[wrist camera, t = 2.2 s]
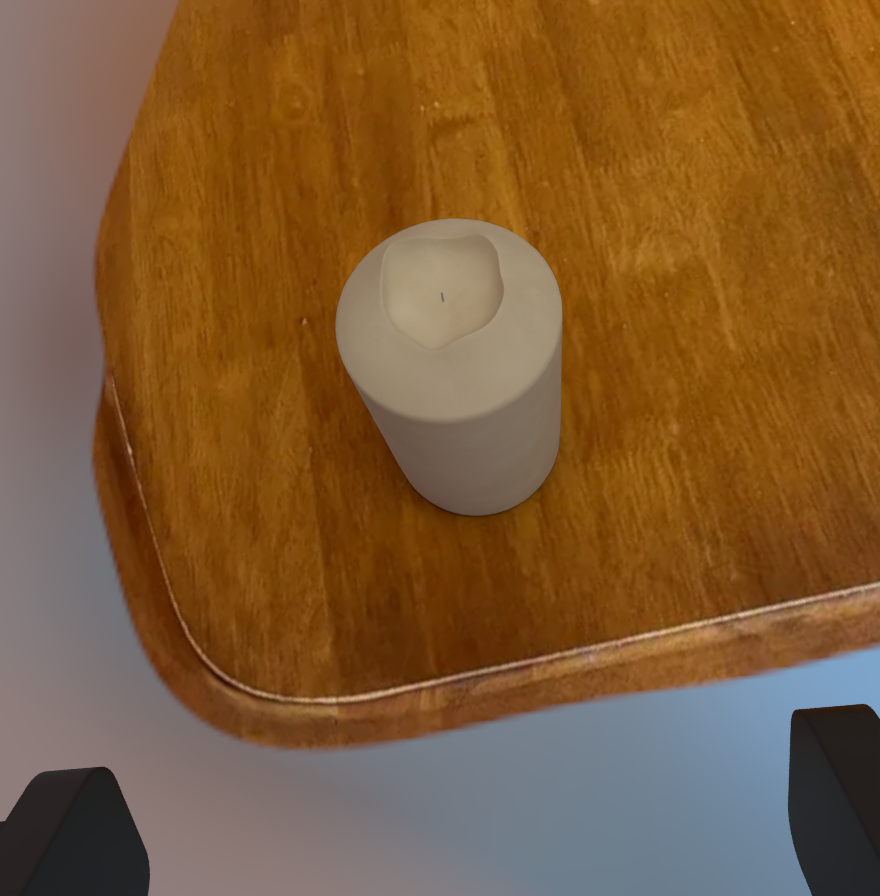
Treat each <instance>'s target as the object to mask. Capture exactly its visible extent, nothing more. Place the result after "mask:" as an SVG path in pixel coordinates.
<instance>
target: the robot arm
mask: <svg viewBox="0 0 880 896" xmlns="http://www.w3.org/2000/svg"><path fill="white" fill-rule="evenodd" d="M788 793H789V794H788V813H789V823H790V830H791V835H792V839H793V844H794V847H795V851H796V854H797V858H798V861H799V864H800V866H801V869H802V872H803V874H804V877H805V879H806V882H807V884H808V886H809V889H810V891H811V894H812V896H880V719H879V717H878V716H877V714H876V713H875V712H874V710H873V709H871V707H869V706H868V705H866V704H857V705H845V706H834V707H822V708H810V709H799V710H795V711H794V712H793V714H792V718H791V734H790V764H789V792H788ZM149 880H150V868H149V860H148V855H147V852H146V849H145V847H144V844H143V842H142V840H141V837H140V835H139V832H138V830H137V828H136V825H135V823H134V821H133V818H132V816H131V813H130V811H129V809H128V806H127V804H126V801H125V799H124V797H123V795H122V792H121V790H120V787H119V785H118V782H117V780H116V778H115V776H114V774H113V773H112V772H111V771H110V770H109V769H108V768H106V767H93V768H82V769H70V770H58V771H46V772H42V773H40V774H38V775H37V776H35V777H34V778H33V780H31V782H30V783H29V785H28V786H27V787H26V789H25V791H24V792H23V794H22V795H21V797H20V798H19V800H18V802H17V803H16V805H15V806H14V808H13V810H12V811H11V813H10V814H9V816H8V817H7V819H6V821H3V822H0V896H148V890H149Z"/></svg>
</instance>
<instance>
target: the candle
mask: <svg viewBox="0 0 880 896" xmlns="http://www.w3.org/2000/svg"><path fill="white" fill-rule="evenodd" d="M335 332H336V340H337V346H338V350H339V353H340V357H341V359H342V361H343V363H344V366H345V368H346V370H347V372H348V374H349V375H350V377H351V379H352V381H353V383H354V385H355V386H356V388H357V390H358V392H359V394H360V395H361V397H362V399H363V401H364V403H365V404H366V406H367V408H368V410H369V412H370V414H371V415H372V417H373V419H374V421H375V423H376V424H377V426H378V428H379V430H380V432H381V434H382V435H383V437H384V439H385V441H386V443H387V444H388V446H389V448H390V450H391V452H392V454H393V455H394V457H395V459H396V461H397V463H398V464H399V466H400V468H401V469H402V471H403V473H404V474H405V476H406V477H407V479H408V481H409V482H410V484H411V485H412V486H413V487H414V488H415V489H416V491H417V492H419V493H420V494H421V495H422V496H423V497H424V498H426V499H427V500H429V501H430V502H431V503H433V504H435V505H436V506H438V507H440V508H442V509H444V510H447V511H450V512H453V513H457V514H462V515H472V516H480V515H490V514H495V513H499V512H502V511H505V510H508V509H510V508H512V507H514V506H516V505H518V504H520V503H521V502H523V501H524V500H526V499H527V498H528V497H530V496H531V495H532V494H533V493H534V492H535V491H536V490H537V489H538V488H539V487H540V486H541V485H542V483H543V482H544V481H545V479H546V478H547V476H548V474H549V473H550V471H551V469H552V467H553V465H554V462H555V459H556V457H557V453H558V448H559V439H560V420H561V361H562V303H561V296H560V292H559V288H558V284H557V282H556V279H555V277H554V274H553V272H552V271H551V269H550V267H549V266H548V264H547V262H546V261H545V260H544V258H543V257H542V256H541V255H540V253H539V252H538V251H537V250H536V249H535V248H534V247H532V246H531V245H530V244H529V243H528V242H527V241H525V240H524V239H523V238H521V237H520V236H518V235H517V234H515V233H513V232H511V231H509V230H507V229H505V228H503V227H500V226H497V225H495V224H492V223H488V222H484V221H480V220H472V219H441V220H434V221H430V222H425V223H421V224H418V225H415V226H412V227H409V228H407V229H405V230H403V231H400V232H398V233H396V234H394V235H393V236H391V237H389V238H388V239H386V240H384V241H383V242H382V243H380V244H379V245H378V246H376V247H375V248H374V249H373V250H372V251H371V252H370V253H369V254H367V255H366V256H365V257H364V258H363V260H362V261H361V262H360V263H359V264H358V266H357V267H356V268H355V269H354V271H353V272H352V274H351V276H350V277H349V279H348V280H347V282H346V285H345V287H344V289H343V291H342V293H341V297H340V300H339V303H338V307H337V313H336V325H335Z"/></svg>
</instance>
